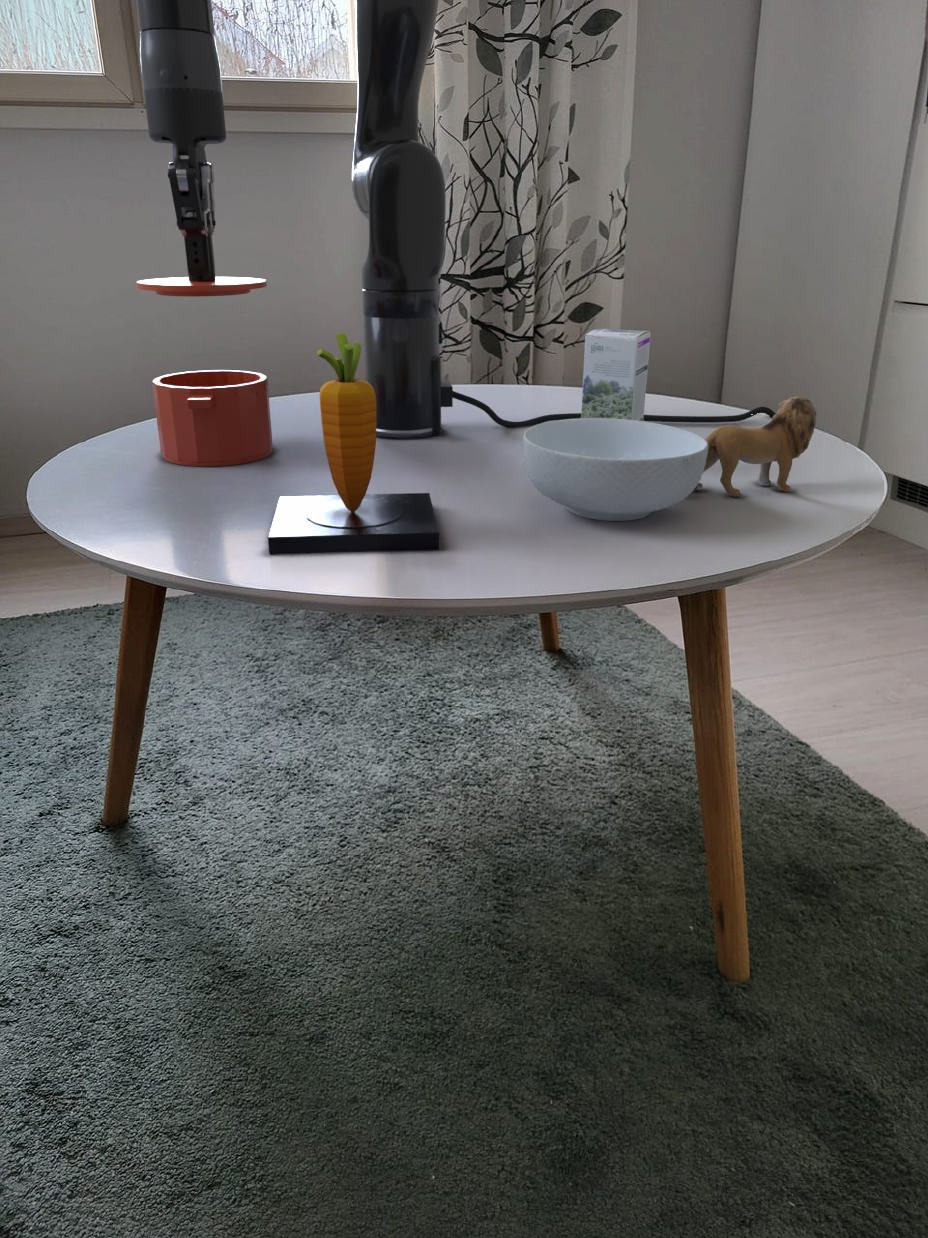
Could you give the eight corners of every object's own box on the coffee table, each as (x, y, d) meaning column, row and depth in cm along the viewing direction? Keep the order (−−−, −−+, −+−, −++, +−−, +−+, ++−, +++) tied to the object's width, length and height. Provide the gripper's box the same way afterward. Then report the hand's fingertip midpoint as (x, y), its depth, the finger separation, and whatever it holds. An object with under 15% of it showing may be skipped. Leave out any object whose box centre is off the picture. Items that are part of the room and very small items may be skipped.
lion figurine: (782, 475, 100) (795, 391, 97) (819, 488, 96) (834, 399, 92) (672, 491, 94) (680, 401, 91) (706, 505, 90) (716, 411, 86)
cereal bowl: (575, 547, 78) (580, 464, 76) (491, 496, 92) (492, 424, 90) (738, 523, 85) (748, 446, 82) (636, 479, 99) (642, 412, 96)
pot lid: (272, 287, 107) (267, 224, 104) (261, 297, 94) (255, 225, 92) (151, 288, 105) (143, 223, 103) (125, 298, 93) (115, 225, 90)
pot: (278, 435, 117) (272, 365, 114) (265, 471, 101) (258, 391, 97) (177, 437, 116) (168, 367, 112) (147, 473, 100) (136, 393, 96)
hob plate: (429, 507, 89) (429, 491, 88) (439, 549, 78) (439, 531, 77) (280, 511, 87) (279, 495, 87) (269, 554, 76) (267, 536, 76)
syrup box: (641, 463, 105) (652, 329, 99) (627, 475, 100) (637, 335, 94) (593, 458, 107) (600, 326, 101) (576, 469, 102) (583, 332, 96)
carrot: (371, 522, 79) (365, 339, 73) (316, 518, 80) (305, 337, 74) (387, 505, 84) (382, 332, 78) (335, 502, 85) (326, 330, 79)
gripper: (212, 80, 86) (230, 278, 93) (230, 96, 99) (245, 270, 106) (128, 78, 85) (153, 279, 92) (157, 95, 98) (177, 270, 105)
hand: (202, 273), depth 99 cm, fingers closed on pot lid, 3 cm apart
